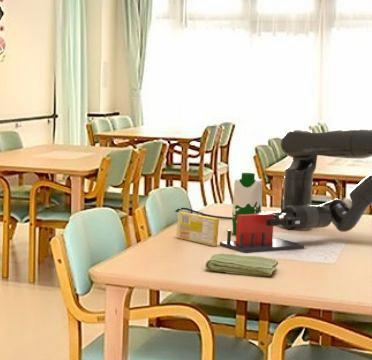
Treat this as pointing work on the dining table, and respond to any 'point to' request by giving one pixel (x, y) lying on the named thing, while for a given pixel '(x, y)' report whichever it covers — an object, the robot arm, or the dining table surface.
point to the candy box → (197, 228)
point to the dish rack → (276, 244)
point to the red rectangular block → (254, 228)
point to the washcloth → (241, 264)
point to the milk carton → (246, 197)
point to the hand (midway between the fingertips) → (257, 220)
